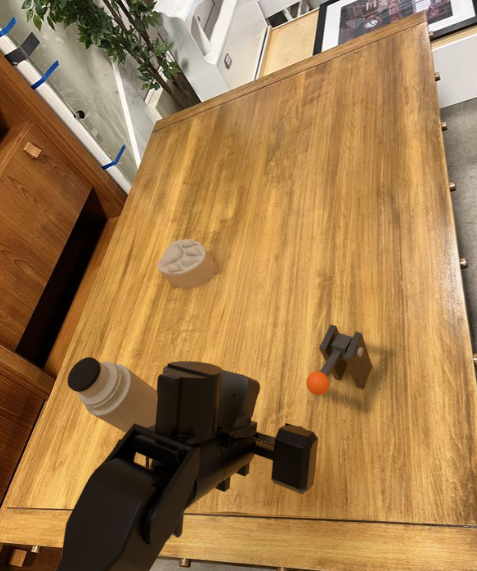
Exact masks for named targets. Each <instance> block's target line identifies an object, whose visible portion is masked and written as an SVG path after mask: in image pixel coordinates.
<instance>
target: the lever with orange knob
mask: <svg viewBox="0 0 477 571" xmlns="http://www.w3.org/2000/svg"><path fill="white" fill-rule="evenodd" d="M339 333H340V330H339V329H338V326H337V325H336V324H335V325H334V324H330V325H329V326H328V328H327V330H326V333H325V335H324V337H323V339H322V341H321V344H320V346H319V348H318V350H319V351H320V353H321V355H322V357H323V359H324V361H325V362H326V361H327V360H328V359H329V357H330V356H331V354H332V346H331V344H332V343H333V341H334V340H335V339H336V337H337V336H338V334H339ZM352 337H353V338H352V340H351V343H350V345H349V347H348V349H347V352H346V354H345V356H344V357H345V360H344V359H341V358H340V359H339V361H338V363H337V364H336V366H335V367H334V369H333V370H332V372H331V375H332V377H333V379H334V380H337V381H340V382H341V380H342V377H343V375H344V373H345V371H346V368H347V367H348V369H349V371H350V374H351V376H352V378H353V380H354V383H355V386H356V388H358V389H361V390H364V388H365V385H366V383H367V380H368V378H369V376H370V374H371V372H372V368H373V363H372V361H371V357H370V355H369V352H368V348H367V345H366V342H365V339H364V335H363V333H362V332H358V331H354V334H353V336H352Z"/></svg>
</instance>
